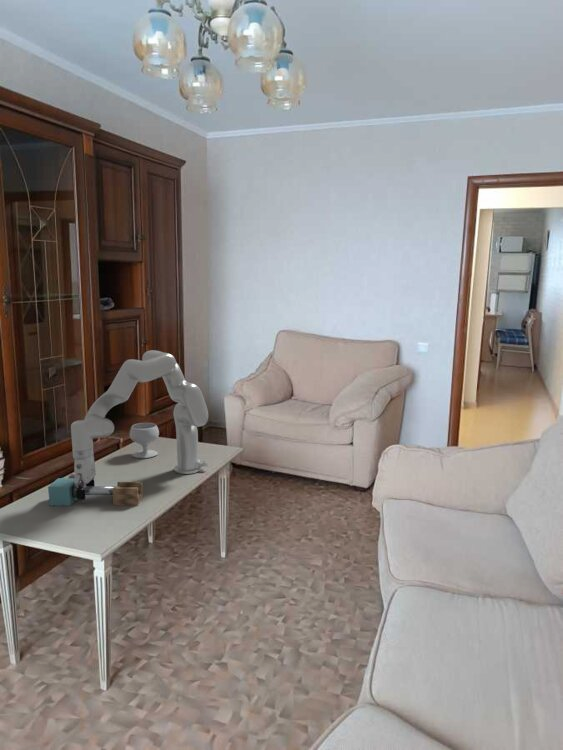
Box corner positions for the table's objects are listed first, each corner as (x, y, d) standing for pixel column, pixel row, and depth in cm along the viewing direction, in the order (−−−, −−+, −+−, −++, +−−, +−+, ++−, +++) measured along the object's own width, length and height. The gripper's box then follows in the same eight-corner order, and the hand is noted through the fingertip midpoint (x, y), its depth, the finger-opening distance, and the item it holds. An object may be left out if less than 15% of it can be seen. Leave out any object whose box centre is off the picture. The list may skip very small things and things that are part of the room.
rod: (122, 494, 215) (121, 481, 214) (117, 500, 210) (116, 487, 209) (58, 494, 216) (57, 481, 215) (52, 499, 210) (51, 486, 209)
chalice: (165, 452, 271) (164, 423, 269) (148, 461, 259) (146, 430, 256) (142, 449, 277) (141, 420, 274) (124, 457, 264) (123, 427, 262)
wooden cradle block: (142, 498, 216) (142, 482, 215) (138, 505, 209) (137, 488, 208) (119, 497, 216) (118, 481, 215) (113, 505, 209) (112, 488, 208)
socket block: (79, 496, 217) (78, 478, 216) (70, 505, 209) (68, 487, 207) (59, 496, 218) (58, 478, 216) (49, 505, 209) (48, 486, 207)
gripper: (84, 460, 201) (87, 503, 204) (100, 445, 218) (103, 485, 221) (64, 459, 201) (67, 503, 204) (82, 445, 218) (84, 485, 221)
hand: (86, 494), depth 212 cm, fingers open, 9 cm apart
